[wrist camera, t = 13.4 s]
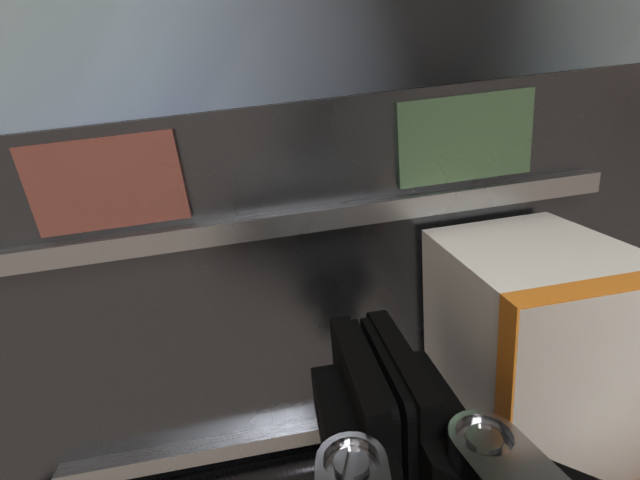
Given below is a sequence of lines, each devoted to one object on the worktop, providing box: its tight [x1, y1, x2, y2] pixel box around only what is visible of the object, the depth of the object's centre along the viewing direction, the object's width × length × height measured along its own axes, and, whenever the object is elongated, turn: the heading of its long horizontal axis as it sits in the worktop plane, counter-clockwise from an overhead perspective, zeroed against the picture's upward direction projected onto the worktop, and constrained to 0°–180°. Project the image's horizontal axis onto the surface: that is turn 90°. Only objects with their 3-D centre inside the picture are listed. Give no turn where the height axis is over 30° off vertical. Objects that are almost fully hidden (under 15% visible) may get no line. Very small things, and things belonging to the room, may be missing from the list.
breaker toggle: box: [422, 212, 640, 480], centre depth 11 cm, size 4×6×5 cm
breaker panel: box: [0, 63, 640, 480], centre depth 14 cm, size 24×14×5 cm, turn 96°
